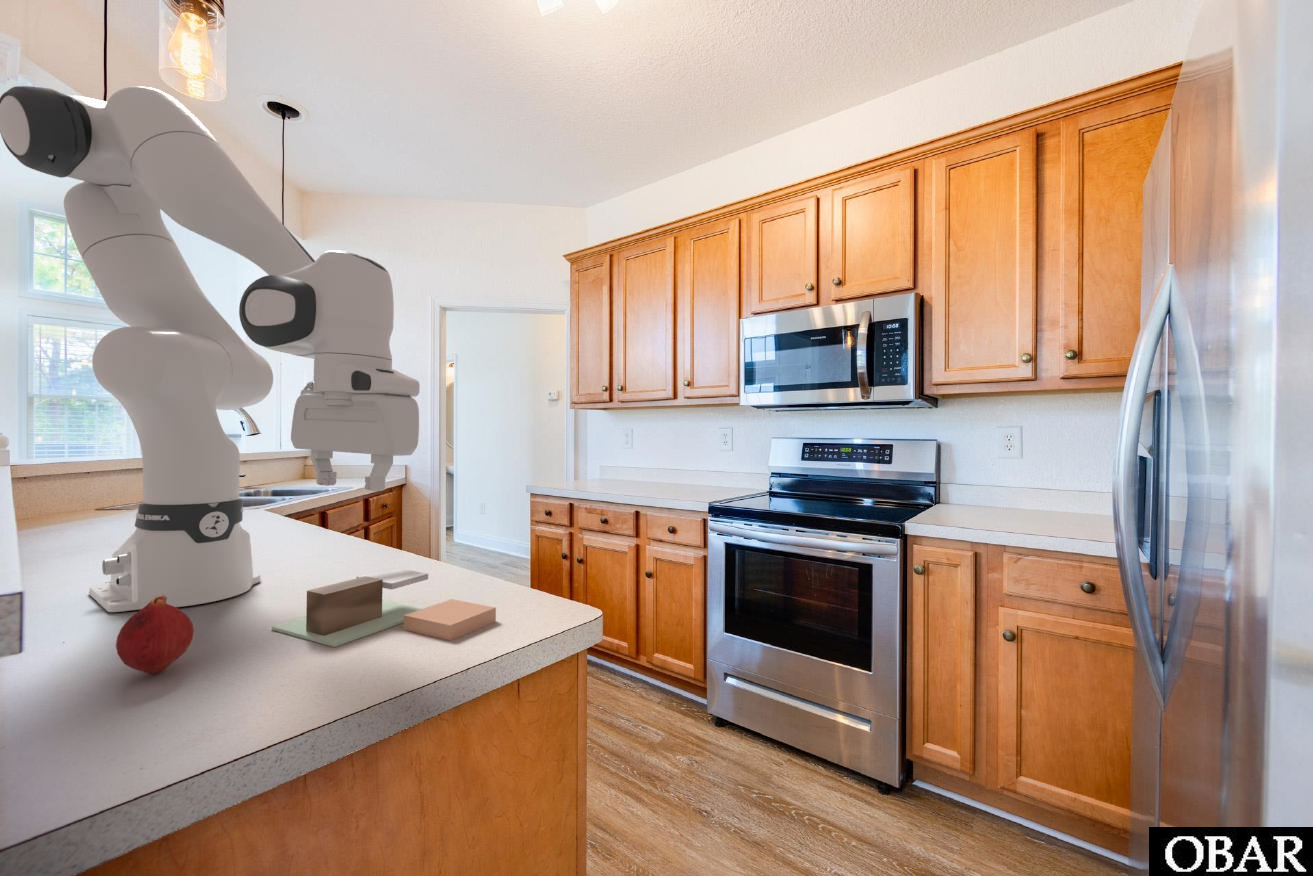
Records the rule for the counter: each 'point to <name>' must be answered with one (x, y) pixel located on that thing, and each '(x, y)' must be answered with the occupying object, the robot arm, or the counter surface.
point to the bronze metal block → (353, 600)
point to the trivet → (390, 617)
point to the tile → (449, 619)
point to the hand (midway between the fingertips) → (349, 487)
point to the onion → (154, 637)
